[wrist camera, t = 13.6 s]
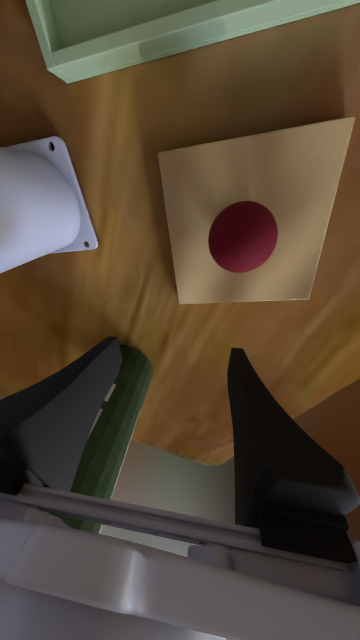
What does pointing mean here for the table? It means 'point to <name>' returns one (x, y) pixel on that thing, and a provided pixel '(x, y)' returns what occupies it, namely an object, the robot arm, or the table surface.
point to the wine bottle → (111, 434)
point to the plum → (243, 236)
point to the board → (262, 187)
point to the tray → (149, 28)
